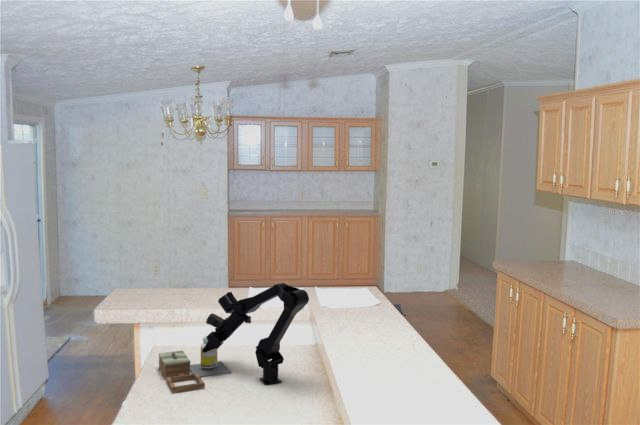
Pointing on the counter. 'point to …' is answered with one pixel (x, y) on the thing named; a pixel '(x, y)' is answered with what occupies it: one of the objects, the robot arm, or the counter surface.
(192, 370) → the slate mat
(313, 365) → the counter surface
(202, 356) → the pill bottle
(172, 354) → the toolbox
